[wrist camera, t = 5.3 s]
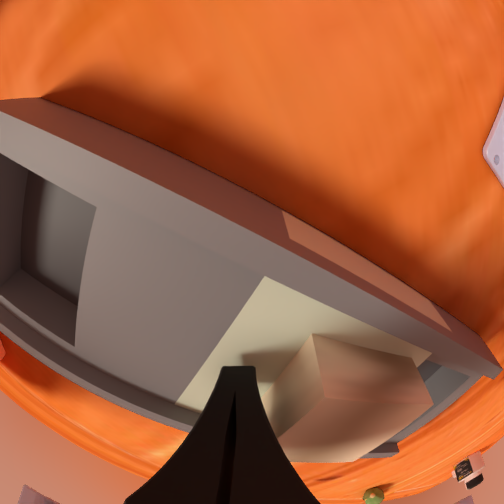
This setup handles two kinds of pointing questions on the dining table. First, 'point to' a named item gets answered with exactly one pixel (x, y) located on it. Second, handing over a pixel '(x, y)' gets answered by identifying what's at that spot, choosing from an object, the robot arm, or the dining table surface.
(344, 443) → the birch block
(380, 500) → the edible corn
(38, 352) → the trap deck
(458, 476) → the medicine bottle
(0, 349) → the potted cactus
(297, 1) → the dining table surface
